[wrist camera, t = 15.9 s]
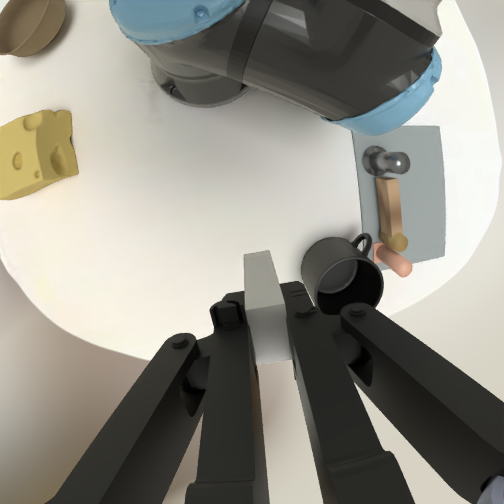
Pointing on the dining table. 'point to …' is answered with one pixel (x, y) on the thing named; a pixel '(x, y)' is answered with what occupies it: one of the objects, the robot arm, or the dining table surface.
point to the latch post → (391, 259)
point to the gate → (390, 214)
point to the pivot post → (384, 161)
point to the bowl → (29, 25)
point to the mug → (341, 274)
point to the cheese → (35, 153)
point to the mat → (408, 191)
